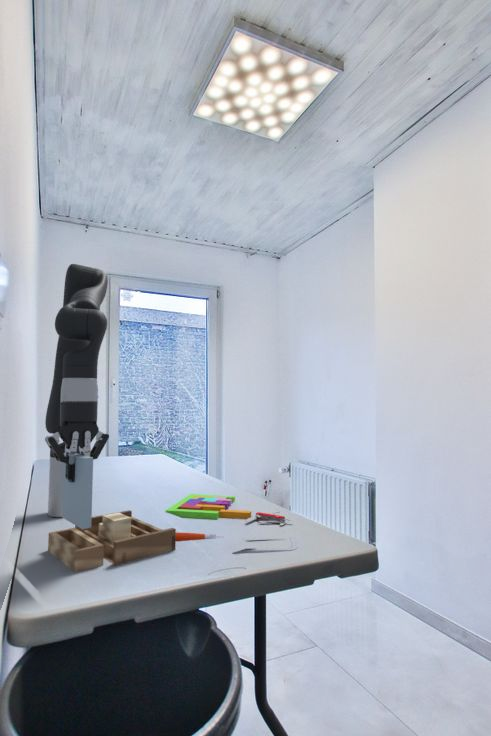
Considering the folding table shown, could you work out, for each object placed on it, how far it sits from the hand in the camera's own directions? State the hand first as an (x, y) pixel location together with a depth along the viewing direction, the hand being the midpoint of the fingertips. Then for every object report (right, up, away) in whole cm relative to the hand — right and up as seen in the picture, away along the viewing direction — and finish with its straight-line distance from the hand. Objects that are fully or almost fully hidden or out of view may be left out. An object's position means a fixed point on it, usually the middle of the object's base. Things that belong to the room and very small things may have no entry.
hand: (76, 480), depth 91 cm
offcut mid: (+6, -14, +6) cm, 17 cm away
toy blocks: (+27, -21, +44) cm, 56 cm away
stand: (0, -17, -1) cm, 17 cm away
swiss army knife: (+44, -20, +30) cm, 57 cm away
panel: (0, -9, -1) cm, 9 cm away
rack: (+8, -18, +7) cm, 20 cm away
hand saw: (+33, -19, +9) cm, 39 cm away
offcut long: (+6, -16, +6) cm, 18 cm away
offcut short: (+7, -12, +6) cm, 15 cm away
